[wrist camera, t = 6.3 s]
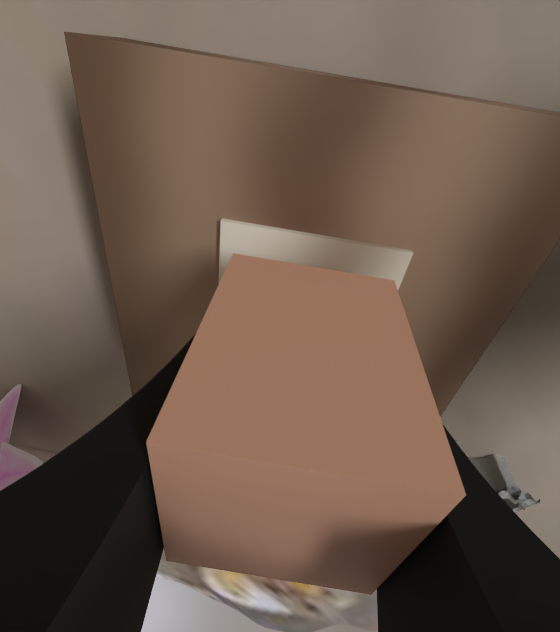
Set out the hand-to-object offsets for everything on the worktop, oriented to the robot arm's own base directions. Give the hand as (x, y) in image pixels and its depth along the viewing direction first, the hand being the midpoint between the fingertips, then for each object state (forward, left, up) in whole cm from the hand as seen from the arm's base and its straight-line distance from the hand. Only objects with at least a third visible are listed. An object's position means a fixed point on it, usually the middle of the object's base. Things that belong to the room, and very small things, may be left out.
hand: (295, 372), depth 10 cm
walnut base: (0, 0, -6) cm, 6 cm away
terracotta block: (0, 0, -2) cm, 2 cm away
